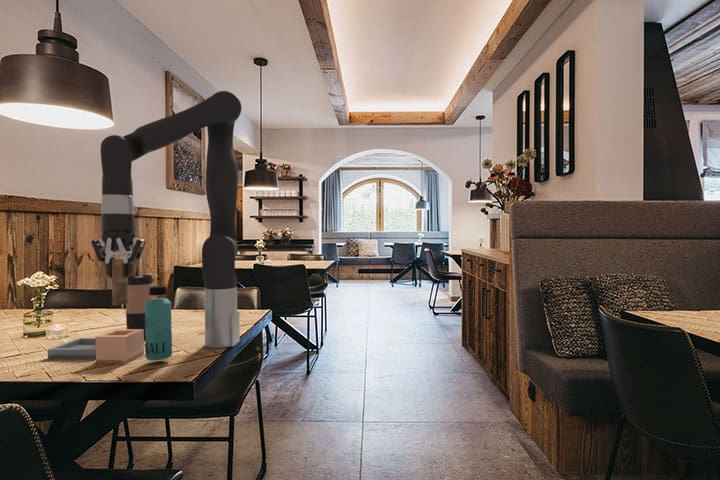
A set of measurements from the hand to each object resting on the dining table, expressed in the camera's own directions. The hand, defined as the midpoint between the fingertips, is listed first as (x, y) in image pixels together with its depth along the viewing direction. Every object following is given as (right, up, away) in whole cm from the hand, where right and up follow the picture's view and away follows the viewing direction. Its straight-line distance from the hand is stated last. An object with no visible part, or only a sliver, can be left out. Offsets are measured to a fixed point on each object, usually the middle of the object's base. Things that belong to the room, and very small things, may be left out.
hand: (119, 277), depth 107 cm
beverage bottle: (+12, -22, -3) cm, 25 cm away
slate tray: (-13, -22, +7) cm, 26 cm away
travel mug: (-6, -22, +22) cm, 31 cm away
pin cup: (0, -22, 0) cm, 22 cm away
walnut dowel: (0, -7, 0) cm, 7 cm away
